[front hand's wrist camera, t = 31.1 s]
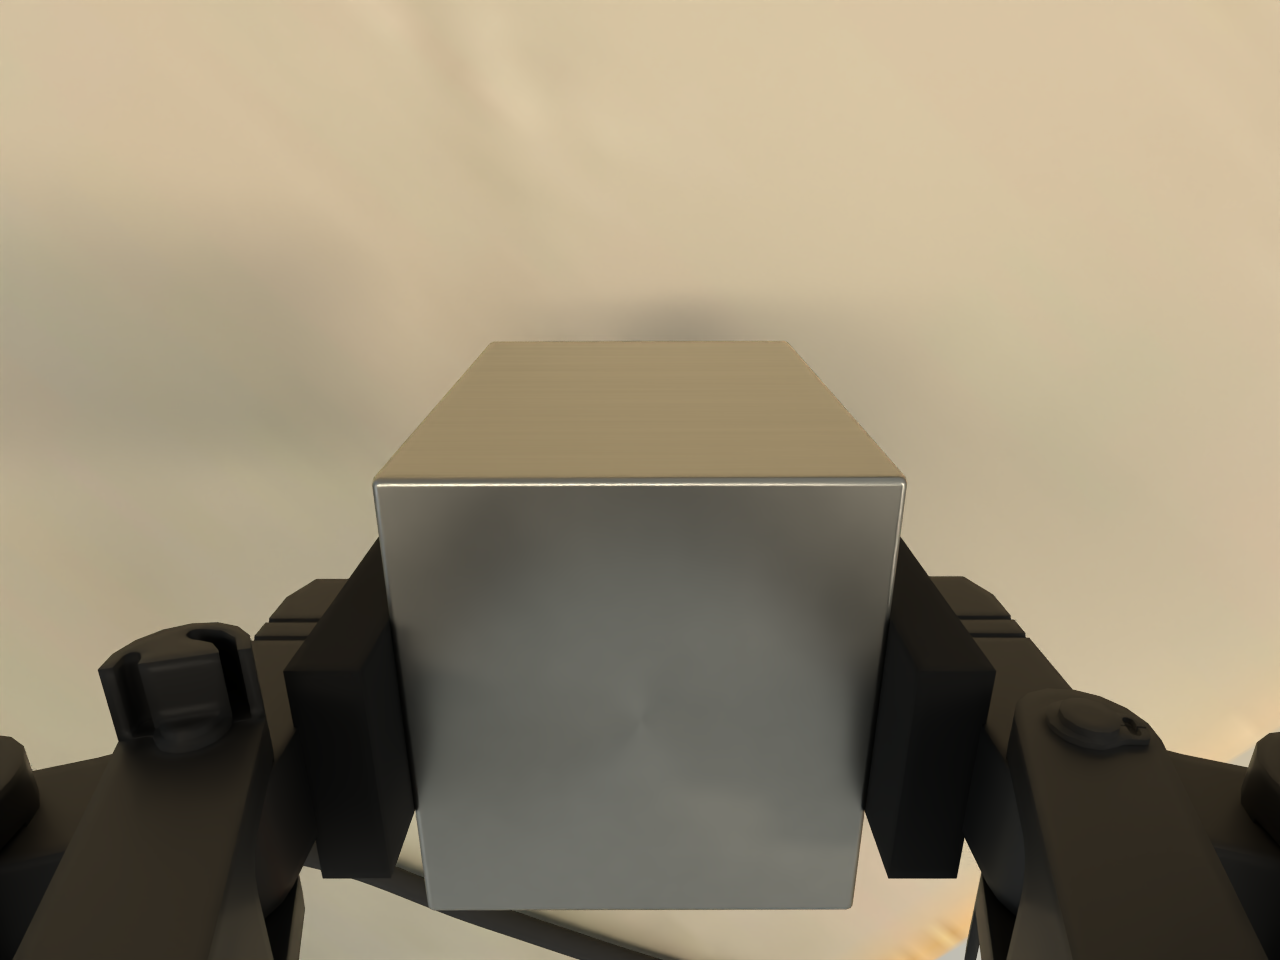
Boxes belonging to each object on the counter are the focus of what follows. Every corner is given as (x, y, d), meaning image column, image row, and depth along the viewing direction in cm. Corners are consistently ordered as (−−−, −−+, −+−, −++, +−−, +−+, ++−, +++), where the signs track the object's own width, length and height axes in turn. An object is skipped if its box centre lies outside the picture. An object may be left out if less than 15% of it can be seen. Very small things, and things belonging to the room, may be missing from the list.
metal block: (788, 339, 15) (911, 477, 8) (770, 622, 17) (854, 913, 10) (489, 340, 15) (368, 478, 8) (509, 623, 17) (426, 914, 10)
